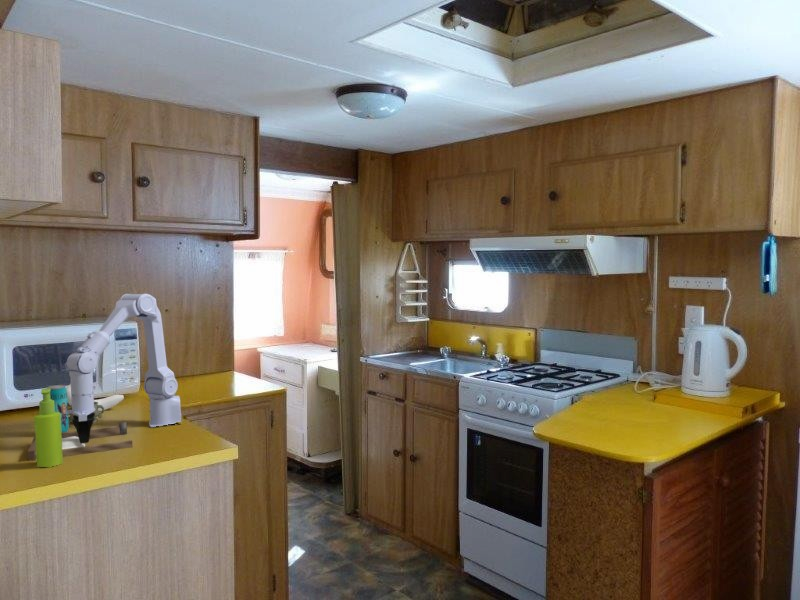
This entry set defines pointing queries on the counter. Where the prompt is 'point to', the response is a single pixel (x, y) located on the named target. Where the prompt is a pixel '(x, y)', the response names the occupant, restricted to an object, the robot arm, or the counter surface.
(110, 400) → the banana
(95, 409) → the vessel
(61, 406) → the beverage can
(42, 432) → the soap dispenser
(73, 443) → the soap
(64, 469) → the counter surface
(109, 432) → the hook rack
